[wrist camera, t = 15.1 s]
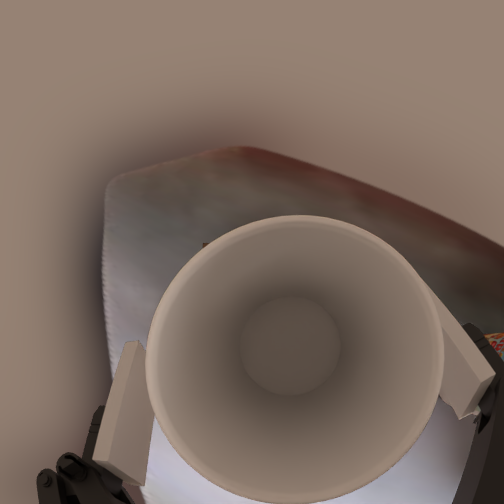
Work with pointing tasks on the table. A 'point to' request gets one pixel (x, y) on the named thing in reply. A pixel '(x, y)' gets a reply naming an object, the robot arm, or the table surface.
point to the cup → (294, 359)
